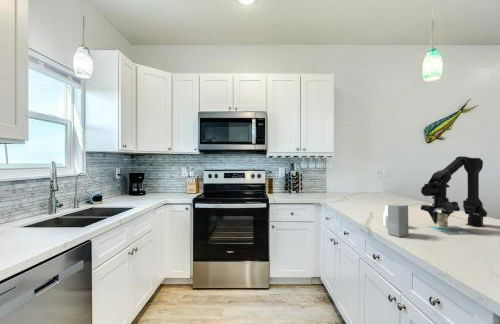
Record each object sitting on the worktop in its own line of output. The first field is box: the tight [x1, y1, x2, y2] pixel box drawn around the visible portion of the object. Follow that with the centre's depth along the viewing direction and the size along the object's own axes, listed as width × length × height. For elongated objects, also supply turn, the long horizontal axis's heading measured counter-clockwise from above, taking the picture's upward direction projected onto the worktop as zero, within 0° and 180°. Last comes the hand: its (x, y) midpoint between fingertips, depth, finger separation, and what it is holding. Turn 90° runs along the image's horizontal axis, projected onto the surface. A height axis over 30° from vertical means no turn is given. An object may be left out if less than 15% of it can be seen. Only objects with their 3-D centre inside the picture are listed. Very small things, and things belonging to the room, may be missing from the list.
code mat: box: [428, 225, 481, 236], centre depth 146 cm, size 18×16×1 cm
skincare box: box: [387, 203, 409, 238], centre depth 138 cm, size 8×7×16 cm
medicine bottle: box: [382, 205, 388, 229], centre depth 155 cm, size 7×7×12 cm
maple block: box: [431, 212, 449, 227], centre depth 149 cm, size 5×5×7 cm
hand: (439, 223), depth 149 cm, fingers closed on maple block, 5 cm apart
